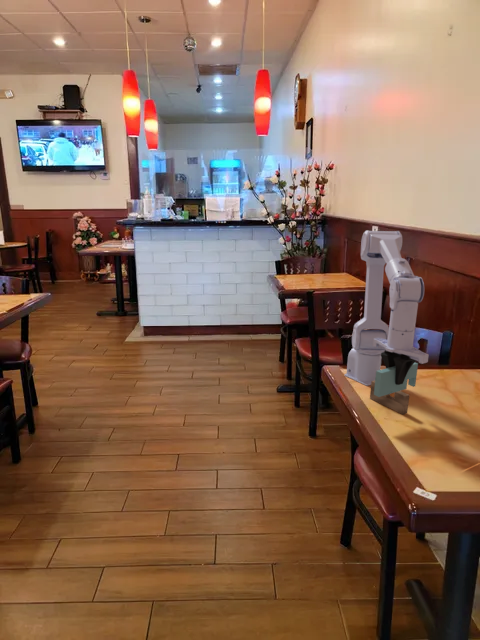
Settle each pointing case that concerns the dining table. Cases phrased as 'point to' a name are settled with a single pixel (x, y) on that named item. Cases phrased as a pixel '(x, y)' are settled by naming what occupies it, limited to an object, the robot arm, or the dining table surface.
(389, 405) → the walnut slotted plate
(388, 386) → the teal slotted plate
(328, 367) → the dining table surface
